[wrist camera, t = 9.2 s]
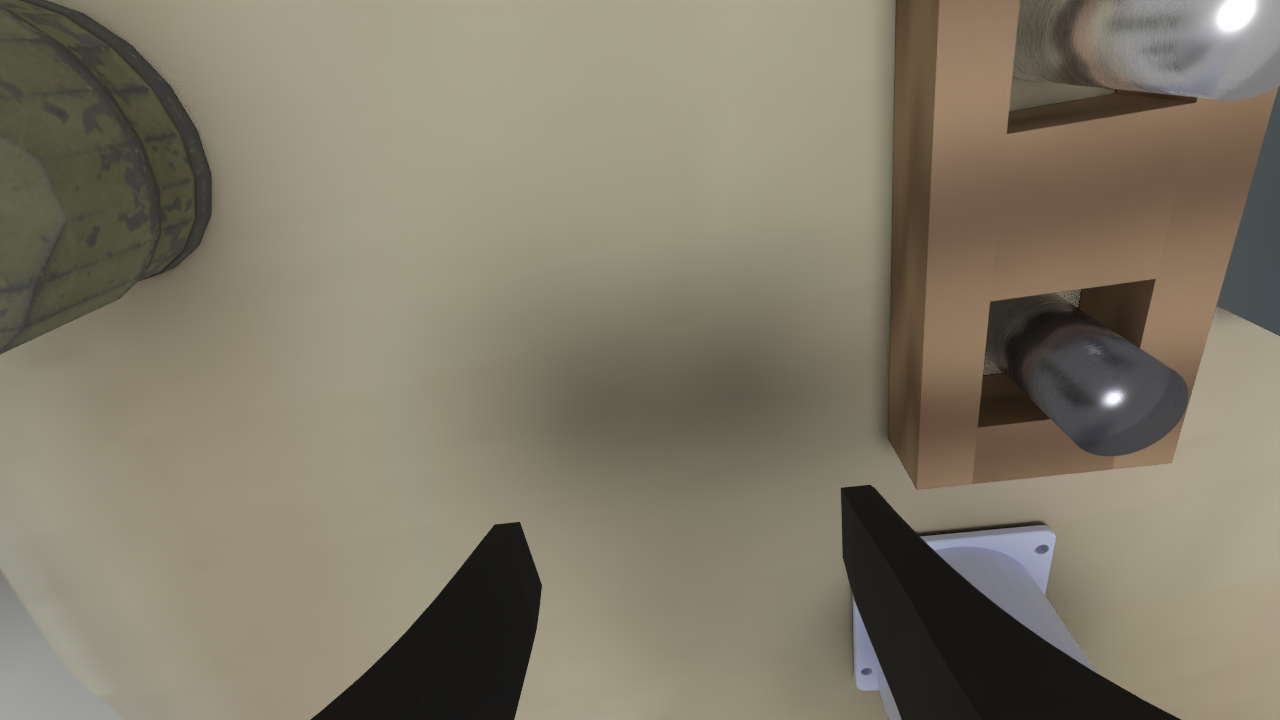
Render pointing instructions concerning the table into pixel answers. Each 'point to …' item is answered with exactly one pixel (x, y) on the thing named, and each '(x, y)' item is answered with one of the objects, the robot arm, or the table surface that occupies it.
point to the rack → (1042, 236)
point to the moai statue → (87, 170)
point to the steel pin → (1152, 45)
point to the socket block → (1258, 241)
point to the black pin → (1084, 374)
